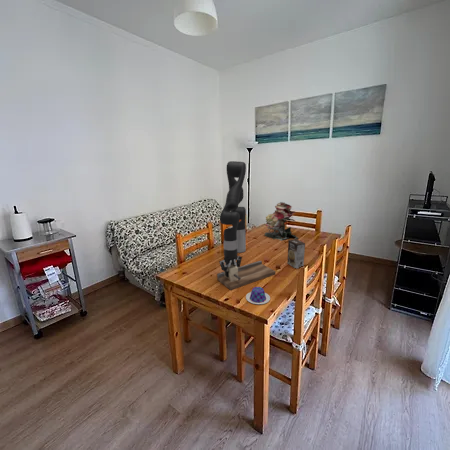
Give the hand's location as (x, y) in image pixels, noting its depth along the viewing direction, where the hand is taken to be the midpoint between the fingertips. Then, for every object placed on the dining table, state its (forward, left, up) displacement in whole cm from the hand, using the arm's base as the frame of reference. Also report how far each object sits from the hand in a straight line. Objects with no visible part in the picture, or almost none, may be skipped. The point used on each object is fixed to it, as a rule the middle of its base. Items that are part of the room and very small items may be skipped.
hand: (231, 275), depth 140 cm
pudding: (+22, +1, -4) cm, 23 cm away
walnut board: (+1, +10, -3) cm, 11 cm away
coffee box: (+6, +45, -4) cm, 46 cm away
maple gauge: (+3, 0, -1) cm, 3 cm away
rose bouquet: (-43, +79, -4) cm, 90 cm away
